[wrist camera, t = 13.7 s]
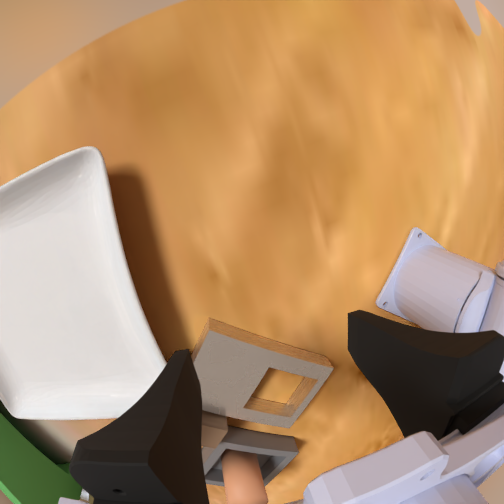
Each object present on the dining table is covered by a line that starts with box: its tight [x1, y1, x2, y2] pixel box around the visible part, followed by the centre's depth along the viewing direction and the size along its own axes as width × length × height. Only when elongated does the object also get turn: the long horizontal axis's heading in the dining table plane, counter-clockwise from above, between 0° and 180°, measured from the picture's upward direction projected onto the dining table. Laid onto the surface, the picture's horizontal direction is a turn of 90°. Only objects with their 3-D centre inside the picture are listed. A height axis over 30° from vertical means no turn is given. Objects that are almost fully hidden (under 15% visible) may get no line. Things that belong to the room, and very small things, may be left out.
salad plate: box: [0, 146, 167, 420], centre depth 18 cm, size 21×21×3 cm
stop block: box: [201, 410, 228, 449], centre depth 23 cm, size 5×3×4 cm, turn 64°
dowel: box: [221, 449, 268, 504], centre depth 23 cm, size 4×4×7 cm
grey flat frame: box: [191, 318, 334, 428], centre depth 24 cm, size 12×8×2 cm
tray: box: [202, 425, 299, 486], centre depth 26 cm, size 9×9×2 cm
